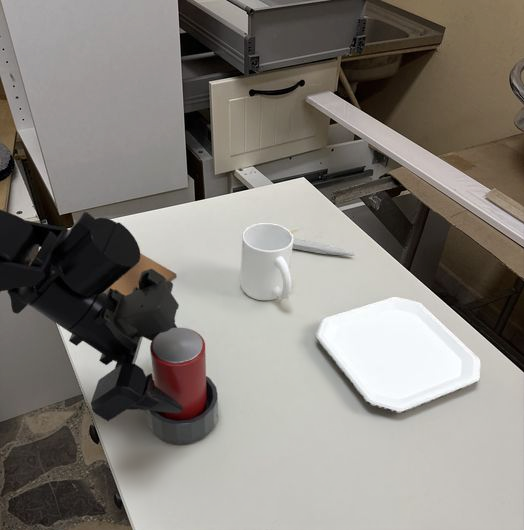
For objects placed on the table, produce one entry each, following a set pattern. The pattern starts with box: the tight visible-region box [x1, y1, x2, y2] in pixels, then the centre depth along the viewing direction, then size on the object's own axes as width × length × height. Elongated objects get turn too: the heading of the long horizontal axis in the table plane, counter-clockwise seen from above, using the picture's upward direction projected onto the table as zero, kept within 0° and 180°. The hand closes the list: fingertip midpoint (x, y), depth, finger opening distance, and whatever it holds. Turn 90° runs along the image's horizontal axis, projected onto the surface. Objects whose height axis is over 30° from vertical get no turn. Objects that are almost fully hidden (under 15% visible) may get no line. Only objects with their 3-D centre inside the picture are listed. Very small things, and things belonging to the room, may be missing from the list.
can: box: [149, 327, 207, 421], centre depth 66 cm, size 6×6×13 cm
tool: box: [292, 238, 356, 257], centre depth 100 cm, size 17×2×2 cm, turn 77°
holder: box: [145, 375, 219, 446], centre depth 69 cm, size 9×9×4 cm
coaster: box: [104, 252, 177, 295], centre depth 91 cm, size 12×12×1 cm
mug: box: [240, 222, 294, 301], centre depth 87 cm, size 12×8×10 cm
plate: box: [315, 296, 482, 414], centre depth 81 cm, size 21×21×2 cm
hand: (186, 381), depth 66 cm, fingers open, 9 cm apart
